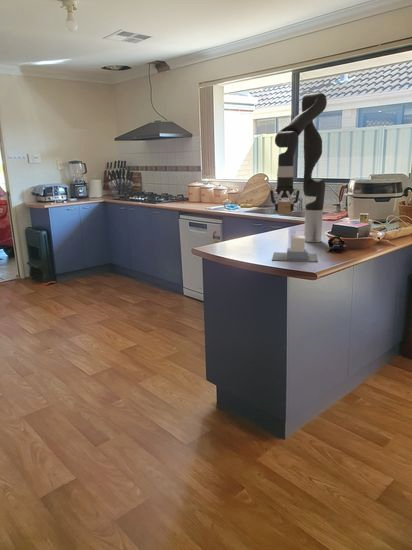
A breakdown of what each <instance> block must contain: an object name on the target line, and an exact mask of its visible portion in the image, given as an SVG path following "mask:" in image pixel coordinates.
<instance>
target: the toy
mask: <svg viewBox="0 0 412 550" xmlns="http://www.w3.org/2000/svg"><path fill="white" fill-rule="evenodd" d="M341 236H342V235H339V236H337V235H334V236H333V237H331V238H329V239H328V241H327V245H328V246H329V248H326V252H327V253H328V252H329V253H330V252H331V253H333V254H334V253H339V254H340V253H341V251H342V249H344V248H346V246H347V245H345V243H346V242H344V241H345V240H344V241H342V240H341V239H340V237H341Z"/></svg>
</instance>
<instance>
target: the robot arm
mask: <svg viewBox="0 0 412 550" xmlns="http://www.w3.org/2000/svg"><path fill="white" fill-rule="evenodd" d="M301 100H302V101H301V113H299V114H297V115H296V116H295V117H294V118H293V119H292V120H291V121H290V122H289V124H288V125H286V126H285V127H282V129H280V130H279V131H278V132H277V133H276V135H275V137H274V144H275V145H276V147H278V148H282V149H285V148H287V149H286V151H285V152H281V153H279V154H278V158H277V159H278V162H277V171H276V172H277V174H276V179H277V180H276V189H271V190H270V191H269V192H270V201H271V203H272V204H274V205H275V207H274V209H275V211H276V213H278V202H279V201H281V199H285V198H286V199H289V200H288V201H290V202H291V213H292V212H293V211H294V209H295V208H294V204H296V203H297V204H298V202H299V196H300V189H294V158H295V154H296V150H297V146H298V143H299V136H300V135H301V134H302V133H303V163H304V164H303V167H304V170H303V182H302V183H303V184H302V192H303V195H304V196H305V197H308V198H309V197H310V198H311V197H313V198H314V197H315V200H313V201H312V202H309V203H306V204H305V208H304V209H305V210H304V211H305V212H304V231H303V232H304V234H303V236H305V243H307V242H308V243H320V242H322V234H323V233H322V231H323V217H324V214H323V213H324V203H325V195H326V193H325V192H326V181H325V180H324V179H323V178H322V179H321V178H312V176H313V172H314V169H315V167H316V164H317V163H318V162H319V160H320V158H321V157H322V154H323V139H322V136H321V135H320V132H319V131H318V129H317V128H316V126H315V124H314V120H315V119H316V118H317V117H318V116H319V115H321V114H322V113H323V112H324V111H325V110H326V107H327V101H328V100H327V96H326V95H325V94H324V93H323V92H314V93H306V94H304V95H303V96H302V99H301ZM293 193H294V195H295V200H294V199H293V196H292V195H293ZM275 194H277V195H278V196H277V197H276V200H275Z"/></svg>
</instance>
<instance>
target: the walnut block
mask: <svg viewBox="0 0 412 550" xmlns="http://www.w3.org/2000/svg"><path fill="white" fill-rule="evenodd" d="M291 213H292V212H291V202H290V200H279V202H278V212H277V216H278V215H281V216H282V215H283V216H284V215H285V216H288V215H289V216H290V215H291Z"/></svg>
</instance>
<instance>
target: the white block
mask: <svg viewBox="0 0 412 550" xmlns="http://www.w3.org/2000/svg"><path fill="white" fill-rule="evenodd" d="M305 246H306V241H305V236H304V235H302V236H301V235H291V237H290V248H291V251H294V252H304V249H306V247H305Z"/></svg>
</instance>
